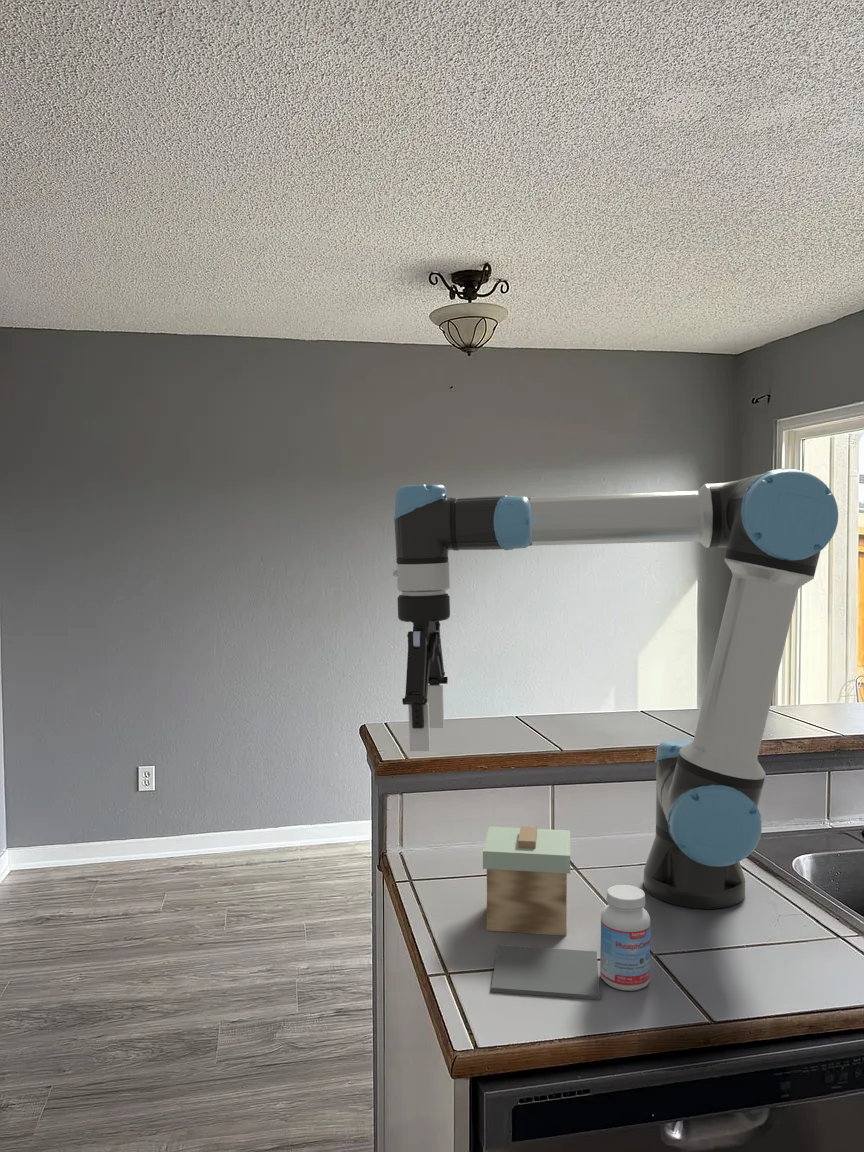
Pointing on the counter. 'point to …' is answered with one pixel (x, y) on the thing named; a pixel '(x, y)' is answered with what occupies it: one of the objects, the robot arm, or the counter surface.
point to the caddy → (526, 901)
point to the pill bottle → (625, 939)
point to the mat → (546, 972)
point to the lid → (527, 849)
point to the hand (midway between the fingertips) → (427, 738)
